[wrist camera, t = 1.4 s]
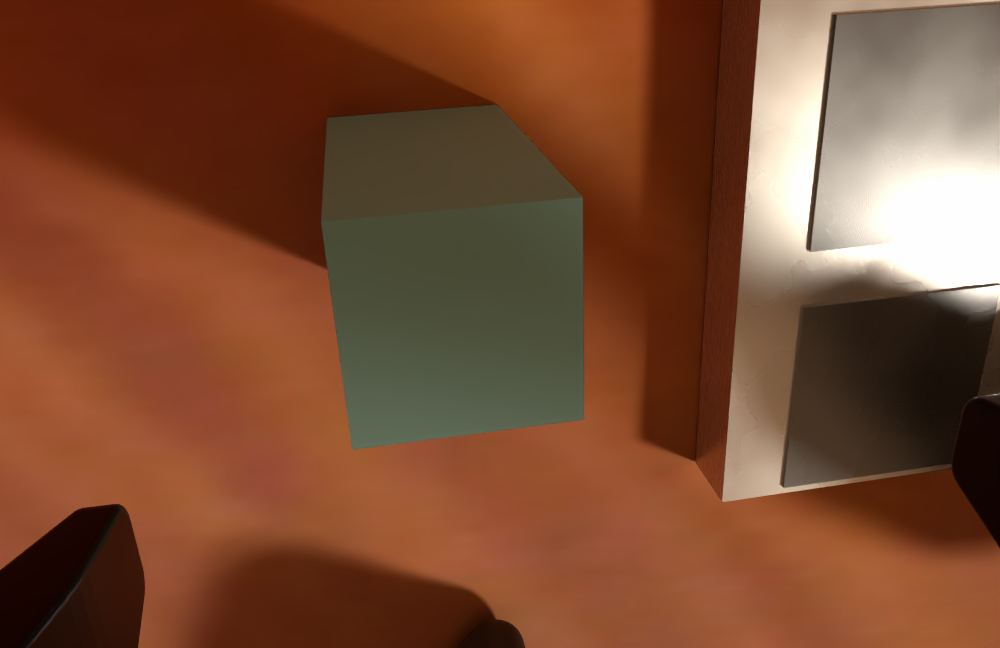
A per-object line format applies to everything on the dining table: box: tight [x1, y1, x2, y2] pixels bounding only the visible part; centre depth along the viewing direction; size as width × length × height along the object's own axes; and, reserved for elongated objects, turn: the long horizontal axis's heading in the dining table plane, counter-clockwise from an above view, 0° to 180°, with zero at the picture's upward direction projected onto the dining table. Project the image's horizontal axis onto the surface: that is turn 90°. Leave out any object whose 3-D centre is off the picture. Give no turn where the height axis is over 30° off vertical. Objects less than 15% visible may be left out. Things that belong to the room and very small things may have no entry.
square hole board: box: [696, 0, 1000, 502], centre depth 20 cm, size 24×9×2 cm, turn 3°
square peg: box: [321, 104, 584, 450], centre depth 18 cm, size 4×4×8 cm
